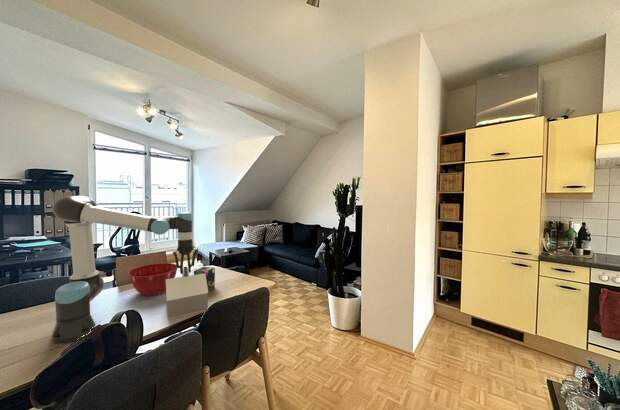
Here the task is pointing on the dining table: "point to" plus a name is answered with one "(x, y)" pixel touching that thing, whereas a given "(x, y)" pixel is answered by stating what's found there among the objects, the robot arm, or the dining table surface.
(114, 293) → the dining table surface
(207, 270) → the tampon box
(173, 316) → the open cabinet
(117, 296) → the dining table surface
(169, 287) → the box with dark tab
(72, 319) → the robot arm
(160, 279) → the mixing bowl
